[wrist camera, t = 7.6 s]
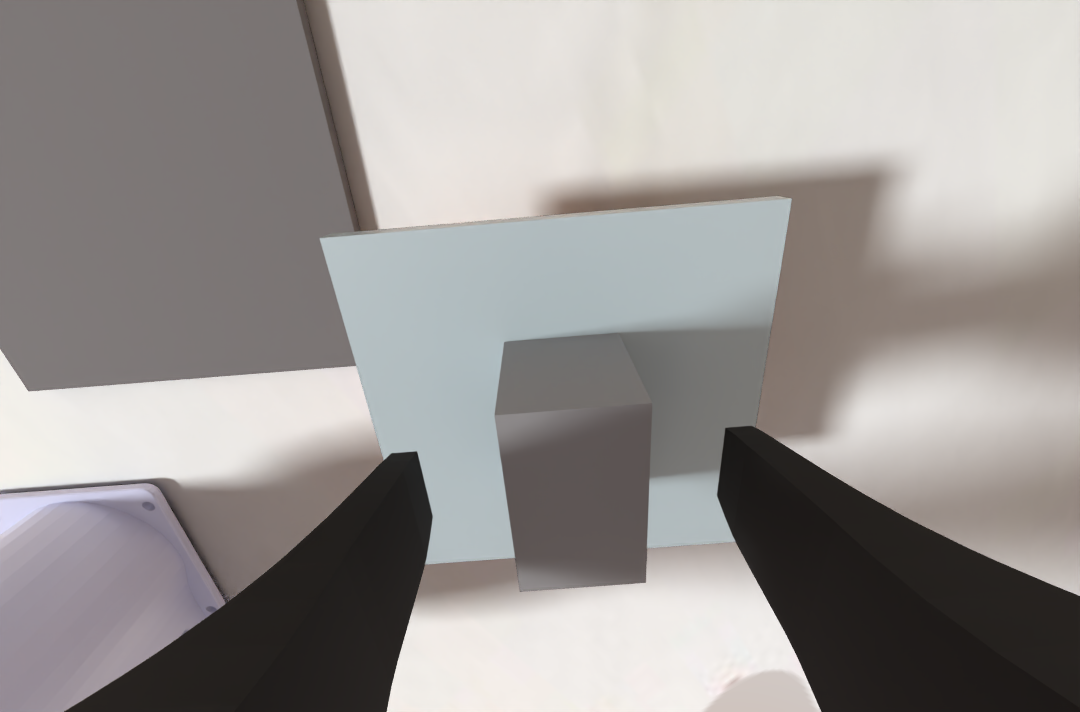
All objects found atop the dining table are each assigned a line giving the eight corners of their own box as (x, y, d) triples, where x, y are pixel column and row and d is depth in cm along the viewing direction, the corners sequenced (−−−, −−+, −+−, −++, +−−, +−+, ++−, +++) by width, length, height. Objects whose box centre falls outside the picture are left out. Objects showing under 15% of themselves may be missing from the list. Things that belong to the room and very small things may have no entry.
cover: (729, 527, 15) (793, 648, 12) (417, 550, 16) (383, 677, 12) (779, 196, 11) (911, 221, 7) (330, 233, 11) (226, 278, 7)
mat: (391, 357, 17) (387, 363, 17) (41, 384, 17) (28, 391, 17) (270, -134, 11) (259, -146, 11) (-262, -84, 11) (-294, -93, 11)
